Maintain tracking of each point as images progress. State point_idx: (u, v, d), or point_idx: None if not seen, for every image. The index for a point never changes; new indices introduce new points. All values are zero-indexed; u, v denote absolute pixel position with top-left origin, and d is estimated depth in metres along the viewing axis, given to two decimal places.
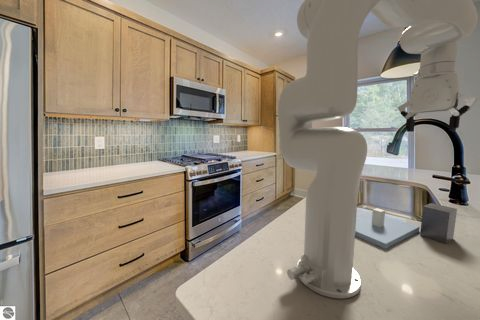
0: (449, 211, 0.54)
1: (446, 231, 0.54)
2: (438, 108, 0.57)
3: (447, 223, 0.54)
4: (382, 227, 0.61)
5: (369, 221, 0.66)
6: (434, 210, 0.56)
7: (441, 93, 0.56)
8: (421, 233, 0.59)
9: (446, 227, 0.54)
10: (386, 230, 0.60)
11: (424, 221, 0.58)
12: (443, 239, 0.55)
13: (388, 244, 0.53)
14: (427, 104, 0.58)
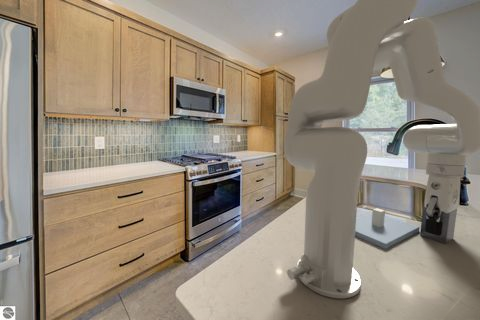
0: None
1: (446, 231, 0.54)
2: (456, 208, 0.56)
3: (447, 223, 0.54)
4: (382, 227, 0.61)
5: (369, 221, 0.66)
6: None
7: (458, 194, 0.56)
8: (421, 233, 0.59)
9: (446, 227, 0.54)
10: (386, 230, 0.60)
11: (424, 221, 0.58)
12: (443, 239, 0.55)
13: (388, 244, 0.53)
14: (454, 205, 0.55)
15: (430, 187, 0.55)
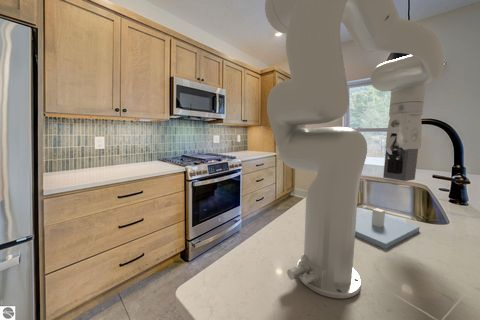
0: (408, 149, 0.56)
1: (405, 168, 0.56)
2: (416, 148, 0.57)
3: (406, 160, 0.55)
4: (382, 227, 0.61)
5: (369, 221, 0.66)
6: None
7: (419, 134, 0.57)
8: (384, 175, 0.60)
9: (405, 164, 0.56)
10: (386, 230, 0.60)
11: (387, 163, 0.60)
12: (403, 177, 0.56)
13: (388, 244, 0.53)
14: (413, 143, 0.56)
15: (391, 126, 0.57)
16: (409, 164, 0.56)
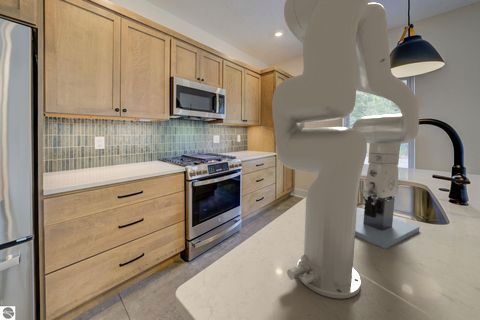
0: (385, 200, 0.59)
1: (382, 219, 0.59)
2: (394, 194, 0.61)
3: (383, 211, 0.59)
4: None
5: None
6: None
7: (395, 181, 0.60)
8: (364, 222, 0.64)
9: (382, 215, 0.59)
10: (386, 230, 0.60)
11: None
12: (380, 226, 0.60)
13: (388, 244, 0.53)
14: (390, 191, 0.59)
15: (369, 175, 0.60)
16: (386, 214, 0.59)
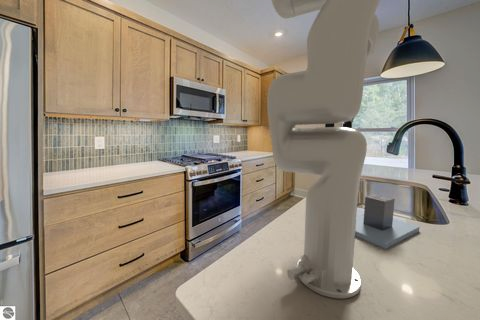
0: (385, 200, 0.59)
1: (382, 219, 0.59)
2: None
3: (383, 211, 0.59)
4: None
5: None
6: (373, 200, 0.61)
7: None
8: (364, 222, 0.64)
9: (382, 215, 0.59)
10: (386, 230, 0.60)
11: (366, 210, 0.63)
12: (380, 226, 0.60)
13: (388, 244, 0.53)
14: None
15: None
16: (386, 214, 0.59)
